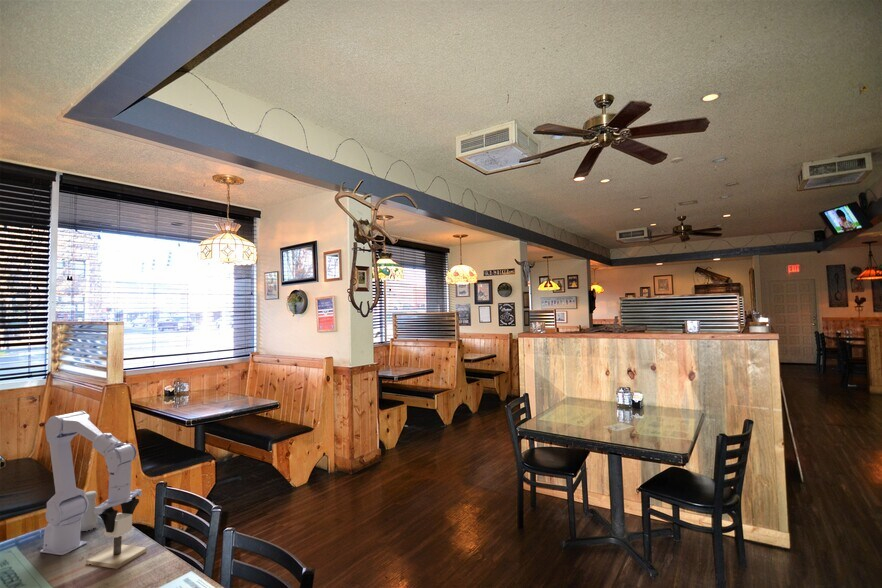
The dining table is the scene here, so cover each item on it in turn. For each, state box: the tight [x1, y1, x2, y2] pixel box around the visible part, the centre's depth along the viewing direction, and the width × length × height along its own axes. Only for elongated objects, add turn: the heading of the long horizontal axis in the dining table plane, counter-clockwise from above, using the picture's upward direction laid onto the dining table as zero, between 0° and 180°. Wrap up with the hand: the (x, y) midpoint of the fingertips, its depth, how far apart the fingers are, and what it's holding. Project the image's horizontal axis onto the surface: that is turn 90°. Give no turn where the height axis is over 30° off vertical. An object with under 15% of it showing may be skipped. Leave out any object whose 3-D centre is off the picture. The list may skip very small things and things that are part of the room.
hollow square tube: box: [103, 512, 133, 538], centre depth 138 cm, size 5×5×5 cm
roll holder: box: [85, 535, 148, 570], centre depth 138 cm, size 12×10×6 cm
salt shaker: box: [81, 490, 99, 532], centre depth 157 cm, size 6×6×13 cm
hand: (118, 527), depth 138 cm, fingers closed on hollow square tube, 5 cm apart
